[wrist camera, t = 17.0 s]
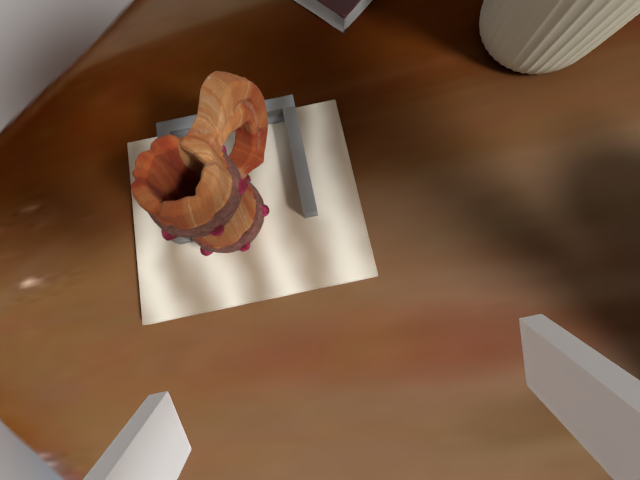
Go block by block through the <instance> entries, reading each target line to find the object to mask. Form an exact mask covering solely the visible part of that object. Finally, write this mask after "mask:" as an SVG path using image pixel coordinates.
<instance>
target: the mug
mask: <svg viewBox="0 0 640 480" xmlns="http://www.w3.org/2000/svg"><path fill="white" fill-rule="evenodd" d="M234 130H235V143H234V145H233V149H232V152H231V153H230V155H229V156H228V155H227V151H226V147H225V146H224V143H225V142H226V140H227V138H228V136H229V135H230V134H231V132H233V131H234ZM267 132H268V119H267V111H266V105H265V101H264V97H263V95H262V93H261V91H260V90H259V88H258V87H257V86H256V85H255V84H254V83H253V82H251V81H249V80H247V79H246V78H245V77H240V76H238V75H234V74H232V73H228V72H222V71H215V72H213V73H211V74H210V75H209V76H207V77H206V79H205V81H204V83H203V85H202V87H201V91H200V98H199V105H198V112H197V115H196V118H195V120H194V123H193V124H192V126H191V128H190V130H189V132H188V134H187V135H185V136H184V137H182V138H178V137H177V136H176V135H166V136H163V137H160V138H157V139H155V140H154V141H153V142H152V143H151V146H150V150H147V151H144V152H142V153H140V154H139V155H138V157H137V159H136V161H135V169H134V170H133V172H132V175H133V176H134V178H135V181H134V182H133V183H132V184H131V190H132V194H133V197H134V198H135V200H136V201H137V203H138V204H139V206H140V207H142V208H143V209H144V210H145V211H147V212H148V213H149V215H150V217H151V218H152V220H153V221H154V222H155V223H156V224H157V225H158V226H159V227H160V228H161V229H162V230H161V233H162V237H163V238H164V239H165V240H167V241H169V240H172V239H175V238H177V237H183V238H192V239H193V240H194V241H195V242H196V243H197V244H198V245H199V246H200V252H201V254H202V255H204V256H209V255H211V254H212V253H213V252H216V253H232V252H235V251H238V250H240V251H242V252H245V251H247V250H249V248H250V243H251V242H252V241H253V240H254V239H255V238H256V237H257V235H258V233H259V232H260V230H261V227H262V225H263V222H264V217H265V216H267V215H268V214H269V212H270V211H269V207H268V206H267V205H265V204H264V202H263V199H262V197H261V195H260V194H259V192H258V190H257V189H256V188H255V187H254V186H253V185H252V183H251V182H250V181H251V178H250V176H249V175H248V174H249V173H250V172H251V171H252V170H254V169H255V168H257V167H258V166H260V165H261V164H262V163H263V162H264V152H265V147H266V140H267Z"/></svg>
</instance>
